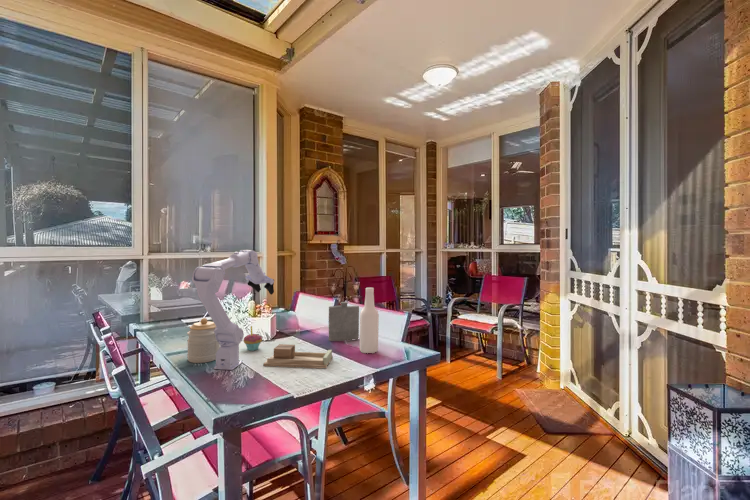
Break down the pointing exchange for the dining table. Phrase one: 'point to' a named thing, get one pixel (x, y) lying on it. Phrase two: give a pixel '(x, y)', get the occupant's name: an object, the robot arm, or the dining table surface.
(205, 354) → the jar
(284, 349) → the block
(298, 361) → the bay
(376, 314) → the alcohol
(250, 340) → the cupcake
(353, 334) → the hip flask
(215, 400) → the dining table surface
